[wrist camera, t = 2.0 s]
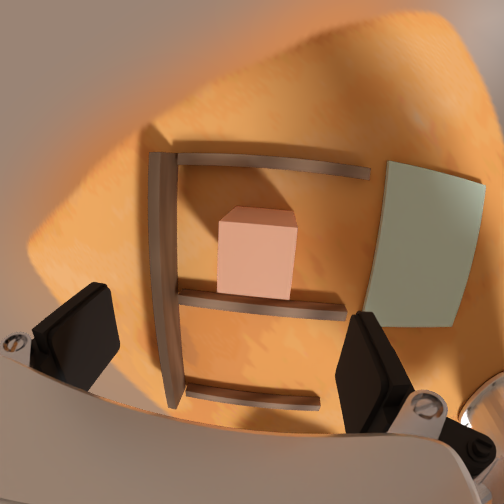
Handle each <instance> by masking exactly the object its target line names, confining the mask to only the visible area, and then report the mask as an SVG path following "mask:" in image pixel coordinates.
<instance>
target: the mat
mask: <svg viewBox="0 0 504 504" xmlns="http://www.w3.org/2000/svg"><path fill="white" fill-rule="evenodd" d="M485 189H486V185H483V184H480V183H476V182H473V181H470V180H467V179H463V178H460V177H456V176H453V175H449V174H445V173H441V172H438V171H434V170H430V169H425V168H421V167H417V166H413V165H408V164H403V163H399V162H394V161H387V168H386V178H385V188H384V196H383V204H382V212H381V219H380V225H379V232H378V238H377V243H376V249H375V254H374V260H373V265H372V270H371V274H370V279H369V284H368V288H367V293H366V297H365V301H364V305H363V309H362V311H365V312H373V313H374V315H375V317H376V318H377V320H378V322H379V324H380V326H381V327H452V325H453V322H454V319H455V317H456V314H457V311H458V308H459V305H460V302H461V299H462V296H463V293H464V290H465V287H466V283H467V280H468V276H469V273H470V269H471V265H472V261H473V257H474V253H475V249H476V244H477V240H478V235H479V229H480V224H481V218H482V212H483V205H484V198H485Z"/></svg>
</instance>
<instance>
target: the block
mask: <svg viewBox="0 0 504 504" xmlns="http://www.w3.org/2000/svg"><path fill="white" fill-rule="evenodd" d="M297 231H298V227H297V223H296V219H295V215H294V211H289V210H278V209H267V208H255V207H242V206H236V207H235V208H233V209H232V210H231V211H230V212H229V213H228V214H227V215H225V216H224V217H223V218H222V219H221V220H220V221H219V235H218V269H217V292H219V293H227V294H236V295H245V296H255V297H265V298H275V299H286V300H289V298H290V291H291V283H292V275H293V266H294V258H295V249H296V240H297Z"/></svg>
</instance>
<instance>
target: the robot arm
mask: <svg viewBox="0 0 504 504" xmlns="http://www.w3.org/2000/svg"><path fill="white" fill-rule="evenodd" d="M32 332H33V335H34V339H33V340H32V339H31V337H30V336H29V334H27V333H24V332H16V333H13V334H10V335H8V336H6V337H5V338H4V339H3V340H2V341H1V343H0V504H504V372H501V373H499V374H497V375H496V376H494V377H492V378H491V379H490V380H488V381H487V382H486V383H485V384H483V385H482V386H481V387H480V388H479V389H478V390H477V391H476V392H475V393H474V394H473V395H472V396H471V397H470V399H469V400H468V401H467V402H466V404H465V405H464V407H463V409H462V410H461V412H460V415H459V423H458V422H456V421H454V420H452V419H450V418H448V417H446V416H447V412H448V408H447V404H446V402H445V401H444V399H443V398H442V397H441V396H440V395H438V394H436V393H435V392H432V391H429V390H418V391H415V390H414V388H413V386H412V384H411V382H410V380H409V378H408V376H407V374H406V372H405V370H404V368H403V366H402V364H401V362H400V360H399V358H398V356H397V354H396V352H395V350H394V349H393V347H392V346H391V344H390V342H389V340H388V338H387V337H386V335H385V333H384V331H383V329H382V327H381V326H380V324H379V322H378V320H377V318H376V317H375V315H374V313H373V312H365V311H358V312H357V313H356V315H352V316H351V319H350V322H349V326H348V330H347V334H346V338H345V341H344V345H343V348H342V352H341V355H340V359H339V362H338V365H337V368H336V373H335V380H336V384H337V389H338V394H339V399H340V404H341V409H342V414H343V420H344V425H345V431H346V434H304V433H282V432H267V431H256V430H246V429H238V428H230V427H223V426H217V425H211V424H205V423H199V422H194V421H189V420H184V419H179V418H175V417H170V416H166V415H162V414H158V413H154V412H150V411H146V410H142V409H139V408H135V407H131V406H129V405H125V404H122V403H119V402H115V401H112V400H110V399H106V398H104V397H101V396H98V395H95V394H92V393H90V392H88V390H89V389H90V387H91V386H92V385H93V384H94V382H95V381H96V380H97V378H98V377H99V376H100V374H101V373H102V371H103V370H104V369H105V368H106V366H107V365H108V364H109V362H110V361H111V360H112V358H113V357H114V356H115V354H116V353H117V352H118V350H119V348H120V340H119V335H118V330H117V325H116V320H115V315H114V309H113V303H112V297H111V291H110V289H109V288H108V287H107V285H106V284H103V283H97V282H92V283H91V284H89V285H88V286H86V287H85V288H84V289H82V290H81V291H80V292H78V293H77V294H76V295H75V296H73V297H72V298H71V299H69V300H68V301H67V302H65V303H64V304H63V305H62V306H60V307H59V308H58V309H56V310H55V311H54V312H53V313H51V314H50V315H49V316H48V317H46V318H45V319H44V320H43V321H41V322H40V323H39V324H38V325H37V326H36V327H34V328H33V329H32ZM471 427H472V428H473V429H471Z"/></svg>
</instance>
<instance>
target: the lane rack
mask: <svg viewBox="0 0 504 504" xmlns="http://www.w3.org/2000/svg"><path fill="white" fill-rule="evenodd" d="M178 165H218V166H239V167H256V168H270V169H282V170H293V171H303V172H312V173H321V174H329V175H337V176H344V177H352V178H358V179H365V180H370V170H371V168H366V167H359V166H353V165H346V164H339V163H332V162H324V161H315V160H306V159H297V158H286V157H274V156H260V155H243V154H218V153H178V154H177V153H165V152H149V171H148V232H149V257H150V274H151V287H152V299H153V310H154V319H155V328H156V336H157V344H158V351H159V358H160V364H161V371H162V377H163V383H164V388H165V394H166V399H167V404H168V408H172V409H177V406H178V404H179V402H180V399H181V397H182V395H183V392H184V390H185V388H186V386H185V377H184V367H183V357H182V345H181V332H180V317H179V304H180V305H187V306H194V307H201V308H208V309H216V310H224V311H232V312H241V313H250V314H260V315H270V316H280V317H292V318H304V319H318V320H334V321H345V320H346V316H347V310H346V307H345V305H343V304H328V303H315V302H302V301H291V300H280V299H269V298H259V297H249V296H240V295H231V294H222V293H214V292H205V291H197V290H190V289H182V290H181V291H180V293H179V294H178V275H177V181H178ZM186 396H188V397H193V398H198V399H204V400H209V401H215V402H222V403H228V404H235V405H243V406H252V407H261V408H272V409H285V410H303V411H319V409H320V406H321V405H320V397H303V396H286V395H273V394H262V393H253V392H244V391H237V390H229V389H222V388H216V387H210V386H204V385H198V384H193V383H189V384H188V386H187V388H186Z"/></svg>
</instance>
